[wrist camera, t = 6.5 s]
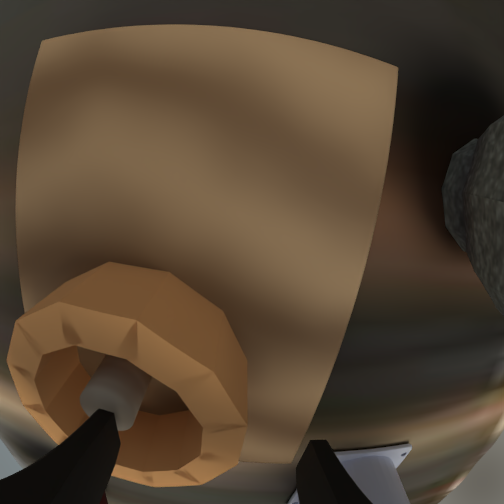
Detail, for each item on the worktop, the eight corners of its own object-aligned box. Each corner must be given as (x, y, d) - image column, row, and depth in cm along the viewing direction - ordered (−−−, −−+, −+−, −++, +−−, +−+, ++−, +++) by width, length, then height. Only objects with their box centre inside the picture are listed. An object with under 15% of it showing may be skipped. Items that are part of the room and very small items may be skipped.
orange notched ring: (231, 442, 15) (228, 498, 11) (70, 405, 14) (44, 449, 10) (261, 285, 12) (267, 340, 8) (43, 248, 11) (-13, 279, 7)
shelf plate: (289, 450, 16) (296, 507, 12) (60, 404, 16) (32, 449, 11) (386, 74, 11) (444, 42, 6) (54, 46, 10) (-2, 20, 5)
